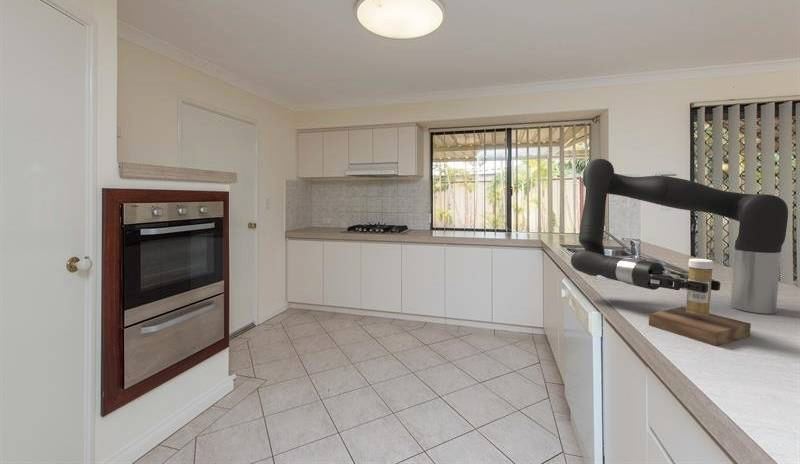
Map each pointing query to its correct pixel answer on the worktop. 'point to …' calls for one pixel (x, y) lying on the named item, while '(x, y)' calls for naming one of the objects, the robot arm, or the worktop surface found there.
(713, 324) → the walnut base
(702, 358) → the worktop surface
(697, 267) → the spice jar
